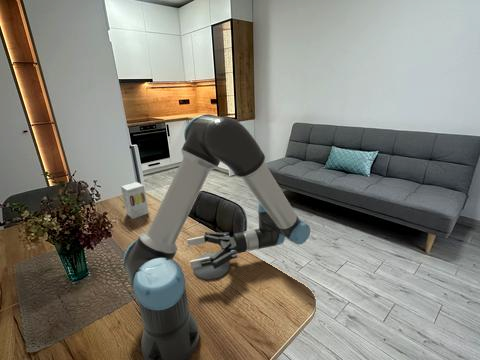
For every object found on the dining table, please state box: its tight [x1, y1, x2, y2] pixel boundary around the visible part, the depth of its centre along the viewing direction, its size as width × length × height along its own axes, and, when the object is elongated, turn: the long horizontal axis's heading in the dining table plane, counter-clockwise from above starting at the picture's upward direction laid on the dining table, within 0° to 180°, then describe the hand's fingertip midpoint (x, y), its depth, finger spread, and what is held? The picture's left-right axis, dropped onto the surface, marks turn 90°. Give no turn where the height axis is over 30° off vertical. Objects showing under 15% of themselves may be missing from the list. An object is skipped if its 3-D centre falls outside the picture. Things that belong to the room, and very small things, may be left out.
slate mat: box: [192, 252, 230, 280], centre depth 98 cm, size 14×14×1 cm
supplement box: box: [120, 181, 149, 220], centre depth 140 cm, size 10×9×17 cm
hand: (189, 252), depth 93 cm, fingers open, 13 cm apart
